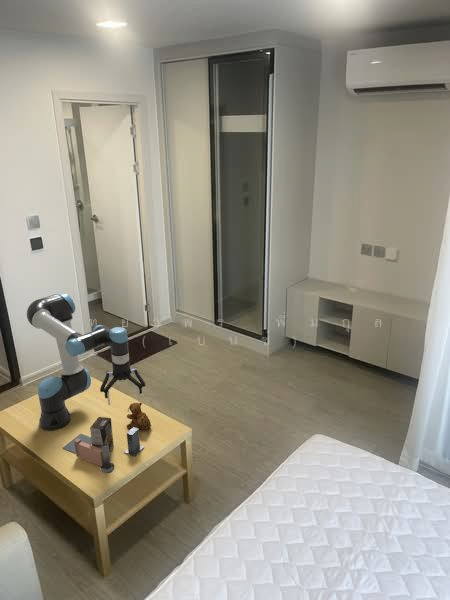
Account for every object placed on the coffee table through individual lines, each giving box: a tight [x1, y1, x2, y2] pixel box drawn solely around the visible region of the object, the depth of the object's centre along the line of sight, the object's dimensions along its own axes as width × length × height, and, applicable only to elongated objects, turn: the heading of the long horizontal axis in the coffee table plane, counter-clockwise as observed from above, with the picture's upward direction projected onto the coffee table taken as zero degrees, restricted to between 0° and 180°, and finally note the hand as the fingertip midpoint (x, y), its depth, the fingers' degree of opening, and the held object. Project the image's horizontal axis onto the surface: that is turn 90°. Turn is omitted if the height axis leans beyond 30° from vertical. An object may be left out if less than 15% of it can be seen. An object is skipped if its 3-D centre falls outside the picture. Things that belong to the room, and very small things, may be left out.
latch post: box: [124, 427, 145, 458], centre depth 209 cm, size 6×7×11 cm
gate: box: [74, 438, 104, 467], centre depth 201 cm, size 15×2×8 cm, turn 64°
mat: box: [62, 433, 92, 455], centre depth 215 cm, size 10×12×1 cm
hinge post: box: [100, 444, 116, 474], centre depth 197 cm, size 6×6×12 cm
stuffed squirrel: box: [126, 401, 152, 431], centre depth 225 cm, size 10×14×13 cm
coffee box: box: [89, 416, 115, 453], centre depth 207 cm, size 9×6×16 cm
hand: (124, 401), depth 208 cm, fingers open, 13 cm apart
